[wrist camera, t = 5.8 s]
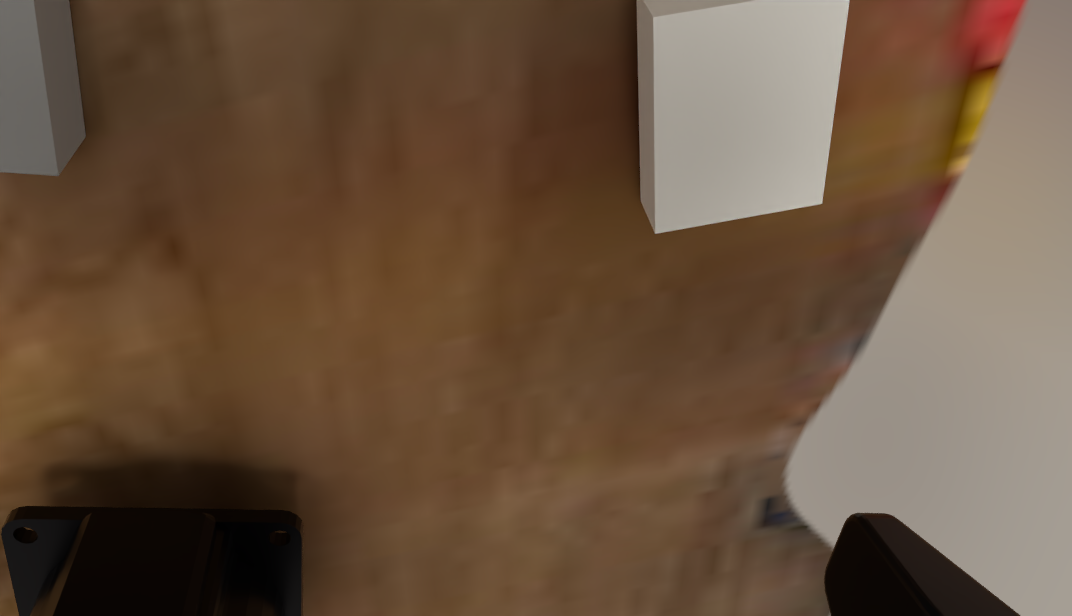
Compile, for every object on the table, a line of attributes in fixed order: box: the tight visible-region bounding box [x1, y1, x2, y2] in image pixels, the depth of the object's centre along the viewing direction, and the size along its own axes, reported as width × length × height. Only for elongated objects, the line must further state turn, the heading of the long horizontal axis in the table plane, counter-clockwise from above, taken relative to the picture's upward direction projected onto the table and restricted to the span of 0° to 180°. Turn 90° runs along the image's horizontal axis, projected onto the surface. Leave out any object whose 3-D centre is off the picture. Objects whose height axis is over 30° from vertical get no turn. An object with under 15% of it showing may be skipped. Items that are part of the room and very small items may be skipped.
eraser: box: [637, 0, 850, 234], centre depth 19 cm, size 1×5×4 cm
